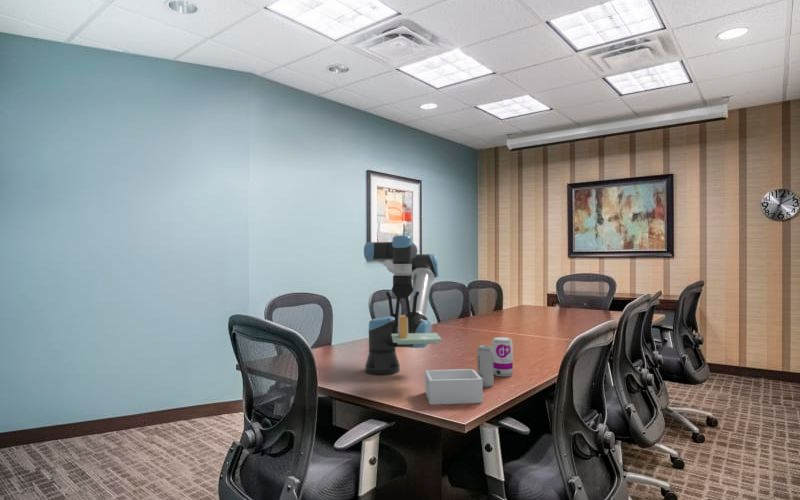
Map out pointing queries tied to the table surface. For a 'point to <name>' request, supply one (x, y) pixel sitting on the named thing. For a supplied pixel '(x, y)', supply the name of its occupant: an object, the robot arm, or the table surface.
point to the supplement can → (502, 356)
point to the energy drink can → (485, 365)
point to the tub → (453, 386)
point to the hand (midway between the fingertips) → (403, 334)
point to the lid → (413, 335)
